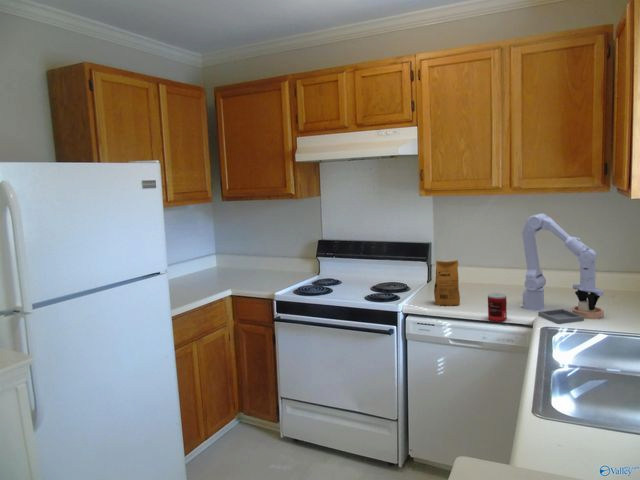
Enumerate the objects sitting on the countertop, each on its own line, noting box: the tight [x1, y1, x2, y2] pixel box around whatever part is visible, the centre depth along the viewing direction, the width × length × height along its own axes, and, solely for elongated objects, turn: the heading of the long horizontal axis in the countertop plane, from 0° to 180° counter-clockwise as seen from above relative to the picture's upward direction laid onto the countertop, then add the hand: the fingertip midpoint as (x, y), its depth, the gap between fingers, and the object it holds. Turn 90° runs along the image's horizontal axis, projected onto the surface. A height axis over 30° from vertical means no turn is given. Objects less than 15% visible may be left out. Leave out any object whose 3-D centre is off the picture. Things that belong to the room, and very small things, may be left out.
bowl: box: [571, 305, 605, 320], centre depth 208 cm, size 12×12×3 cm
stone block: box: [577, 299, 595, 313], centre depth 207 cm, size 4×5×4 cm
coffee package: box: [433, 260, 461, 307], centre depth 241 cm, size 10×12×22 cm
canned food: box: [487, 292, 508, 323], centre depth 211 cm, size 8×8×11 cm
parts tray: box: [537, 308, 585, 325], centre depth 205 cm, size 13×12×2 cm
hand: (587, 308), depth 207 cm, fingers closed on stone block, 4 cm apart
